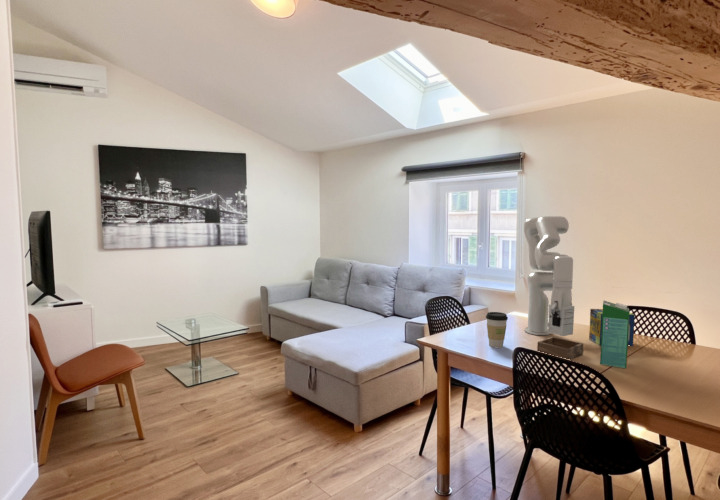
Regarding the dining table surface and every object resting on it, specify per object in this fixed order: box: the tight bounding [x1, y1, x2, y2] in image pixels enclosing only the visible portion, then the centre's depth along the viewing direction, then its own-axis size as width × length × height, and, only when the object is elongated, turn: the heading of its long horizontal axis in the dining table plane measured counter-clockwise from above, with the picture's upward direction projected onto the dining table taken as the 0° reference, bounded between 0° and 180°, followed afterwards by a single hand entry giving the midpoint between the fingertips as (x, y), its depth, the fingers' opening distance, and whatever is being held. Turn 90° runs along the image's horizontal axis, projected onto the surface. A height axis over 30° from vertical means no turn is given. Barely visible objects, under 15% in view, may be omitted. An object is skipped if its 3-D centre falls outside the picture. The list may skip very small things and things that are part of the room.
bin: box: [536, 336, 584, 361], centre depth 178 cm, size 13×13×5 cm
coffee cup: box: [485, 311, 509, 349], centre depth 190 cm, size 10×10×15 cm
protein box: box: [588, 308, 636, 347], centre depth 194 cm, size 10×15×16 cm
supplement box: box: [548, 303, 575, 337], centre depth 177 cm, size 7×7×13 cm
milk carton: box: [599, 300, 630, 369], centre depth 166 cm, size 9×9×25 cm
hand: (561, 324), depth 177 cm, fingers closed on supplement box, 8 cm apart
